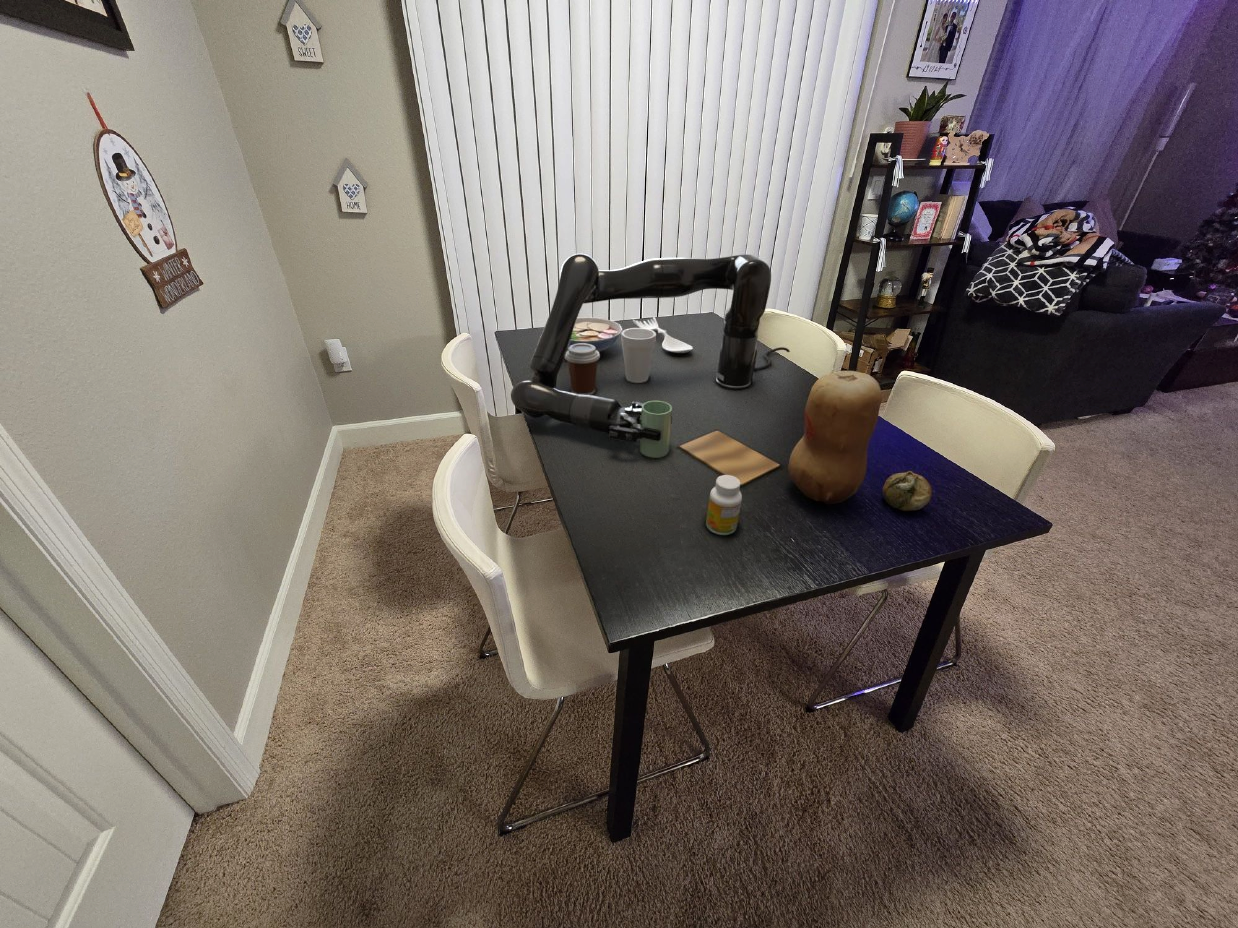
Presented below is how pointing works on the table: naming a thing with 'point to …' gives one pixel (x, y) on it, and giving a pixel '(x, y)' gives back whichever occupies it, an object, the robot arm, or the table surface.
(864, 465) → the butternut squash
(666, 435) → the cup
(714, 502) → the supplement bottle
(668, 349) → the spoon
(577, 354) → the coffee cup
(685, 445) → the placemat
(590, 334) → the ramen bowl
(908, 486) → the onion
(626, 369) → the foam cup
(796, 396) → the table surface
